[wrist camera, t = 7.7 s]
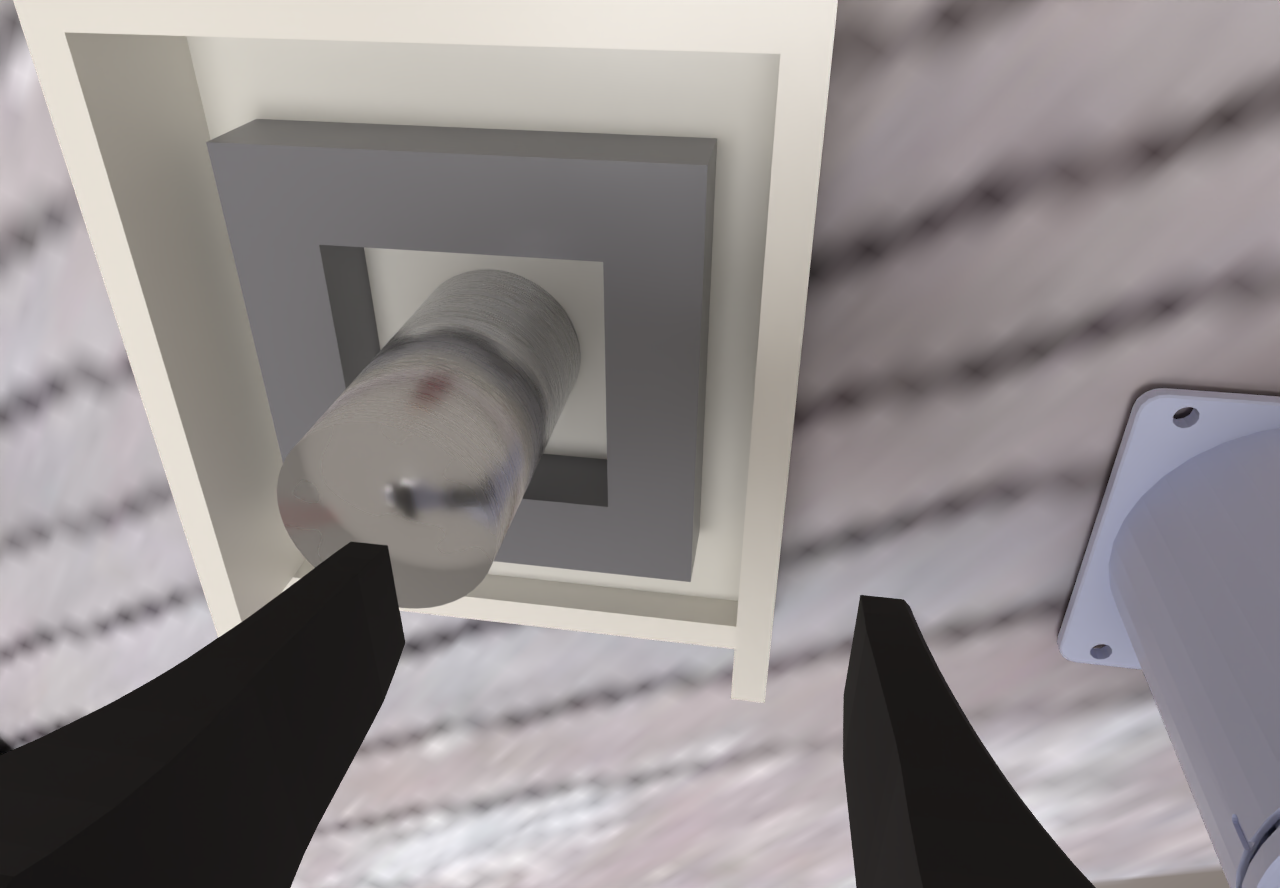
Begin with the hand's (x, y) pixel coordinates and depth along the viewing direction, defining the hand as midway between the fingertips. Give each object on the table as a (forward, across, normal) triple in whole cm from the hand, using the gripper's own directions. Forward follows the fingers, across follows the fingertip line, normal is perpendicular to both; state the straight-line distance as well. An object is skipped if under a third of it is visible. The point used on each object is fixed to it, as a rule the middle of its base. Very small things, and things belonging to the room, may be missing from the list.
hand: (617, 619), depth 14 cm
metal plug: (+9, +4, 0) cm, 10 cm away
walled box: (+9, +4, 0) cm, 10 cm away
